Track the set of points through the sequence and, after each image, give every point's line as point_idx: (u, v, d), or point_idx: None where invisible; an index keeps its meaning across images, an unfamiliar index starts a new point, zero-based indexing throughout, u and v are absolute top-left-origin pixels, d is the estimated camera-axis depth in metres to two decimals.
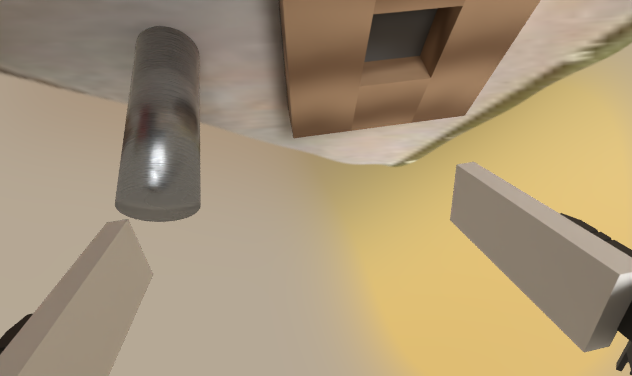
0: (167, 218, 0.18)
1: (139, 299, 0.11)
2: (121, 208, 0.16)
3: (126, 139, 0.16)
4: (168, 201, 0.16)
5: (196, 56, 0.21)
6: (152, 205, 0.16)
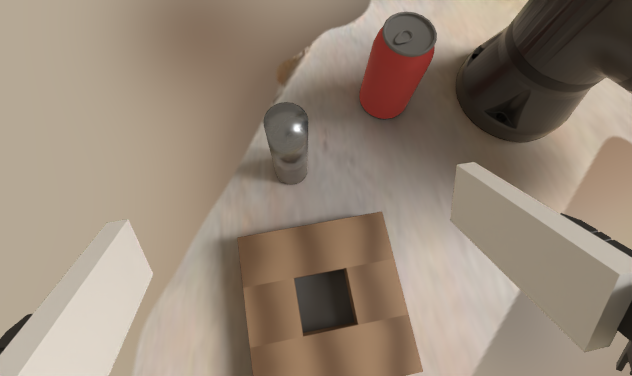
0: (268, 121, 0.28)
1: (139, 299, 0.11)
2: (287, 104, 0.29)
3: None
4: (291, 126, 0.28)
5: (295, 181, 0.38)
6: (287, 118, 0.28)
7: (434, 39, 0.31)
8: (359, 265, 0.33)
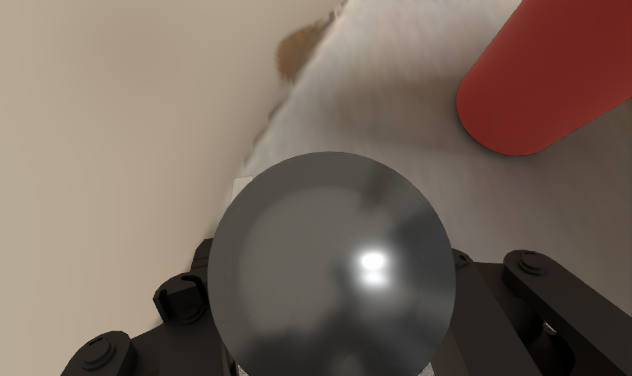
0: (234, 265, 0.05)
1: None
2: (335, 162, 0.06)
3: None
4: (365, 298, 0.05)
5: None
6: (343, 244, 0.05)
7: None
8: None
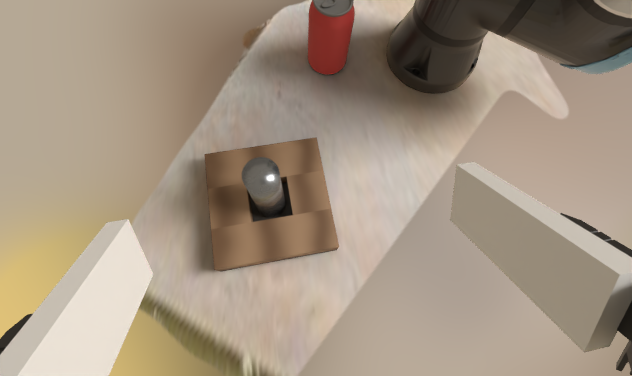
0: (245, 174, 0.33)
1: (139, 299, 0.11)
2: (262, 158, 0.34)
3: None
4: (265, 178, 0.33)
5: (274, 215, 0.43)
6: (262, 171, 0.33)
7: (351, 4, 0.42)
8: (296, 174, 0.43)
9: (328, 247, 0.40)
